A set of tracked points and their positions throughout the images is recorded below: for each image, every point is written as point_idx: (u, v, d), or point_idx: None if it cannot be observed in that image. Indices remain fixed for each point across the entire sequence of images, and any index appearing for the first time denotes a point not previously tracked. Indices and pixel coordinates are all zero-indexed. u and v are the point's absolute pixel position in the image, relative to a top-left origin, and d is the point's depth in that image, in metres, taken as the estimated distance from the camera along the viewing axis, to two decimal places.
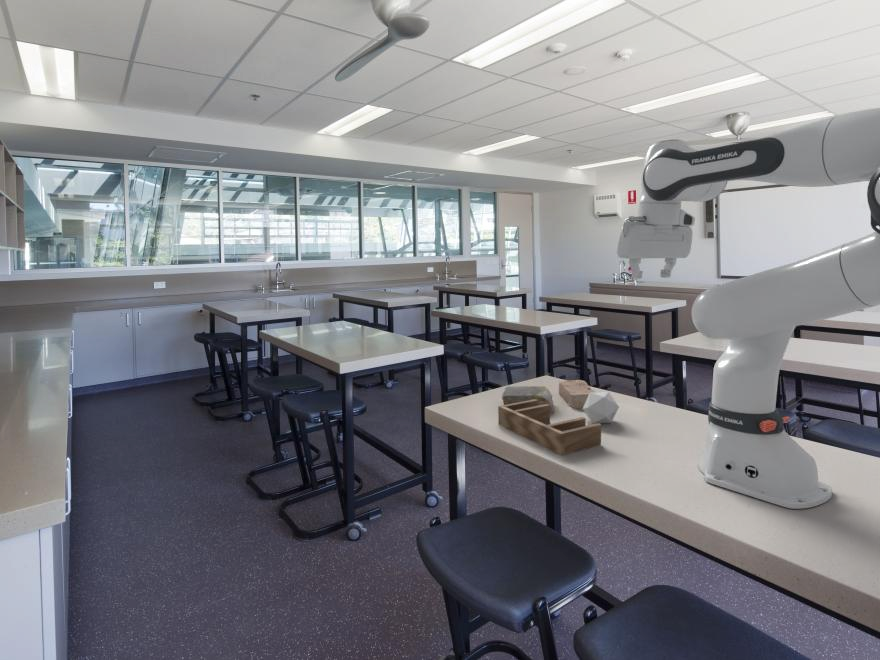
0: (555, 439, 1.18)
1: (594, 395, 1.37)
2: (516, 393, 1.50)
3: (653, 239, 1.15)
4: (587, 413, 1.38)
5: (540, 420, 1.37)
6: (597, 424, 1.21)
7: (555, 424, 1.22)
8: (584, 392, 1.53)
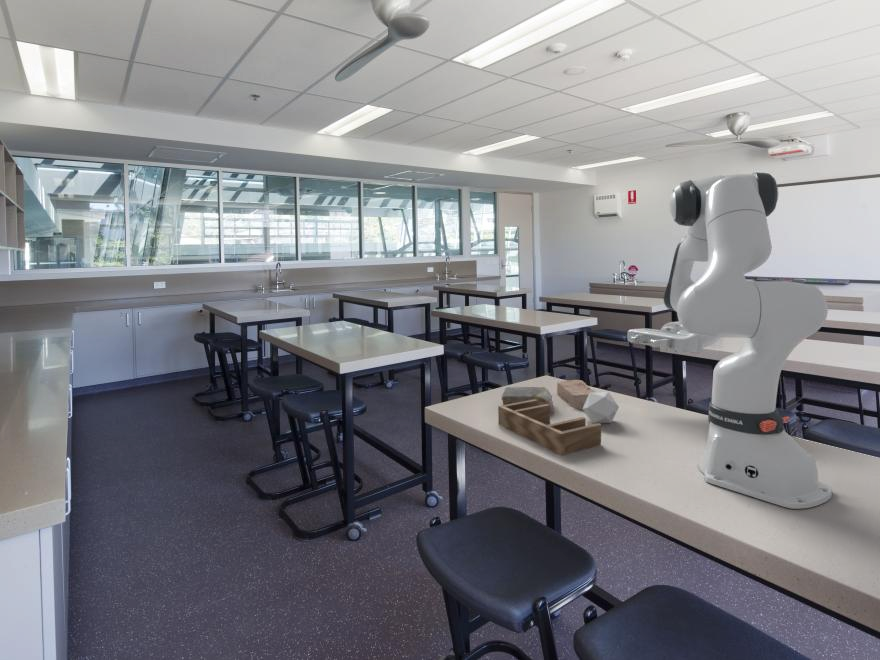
0: (555, 439, 1.18)
1: (594, 395, 1.37)
2: (516, 394, 1.49)
3: (657, 332, 1.49)
4: (587, 413, 1.38)
5: (540, 420, 1.37)
6: (597, 424, 1.21)
7: (555, 424, 1.22)
8: (585, 392, 1.53)
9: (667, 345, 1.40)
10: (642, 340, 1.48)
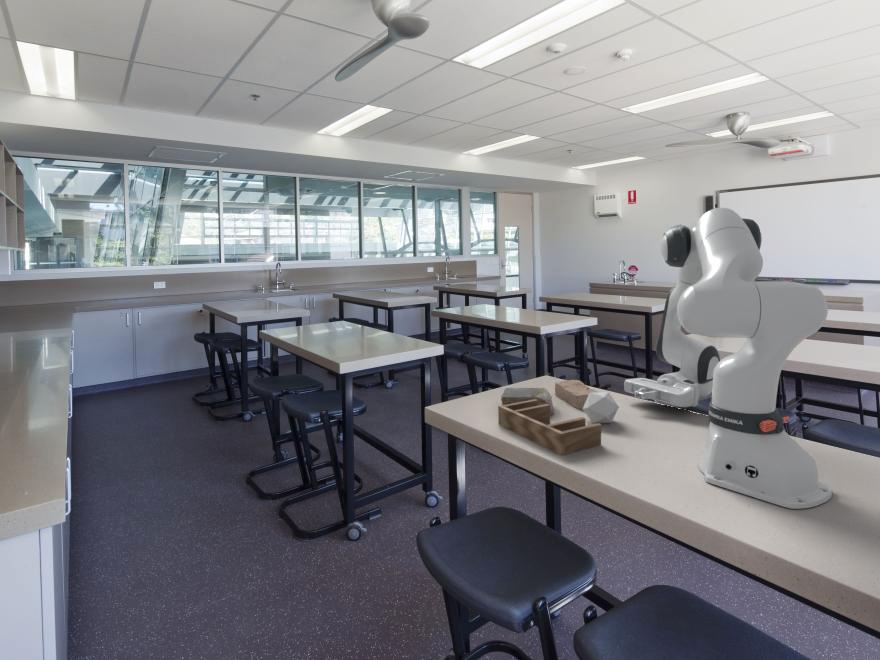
0: (555, 439, 1.18)
1: (594, 395, 1.37)
2: (515, 395, 1.48)
3: None
4: (587, 413, 1.38)
5: (540, 420, 1.37)
6: (597, 424, 1.21)
7: (555, 424, 1.22)
8: (586, 392, 1.53)
9: (655, 397, 1.44)
10: None
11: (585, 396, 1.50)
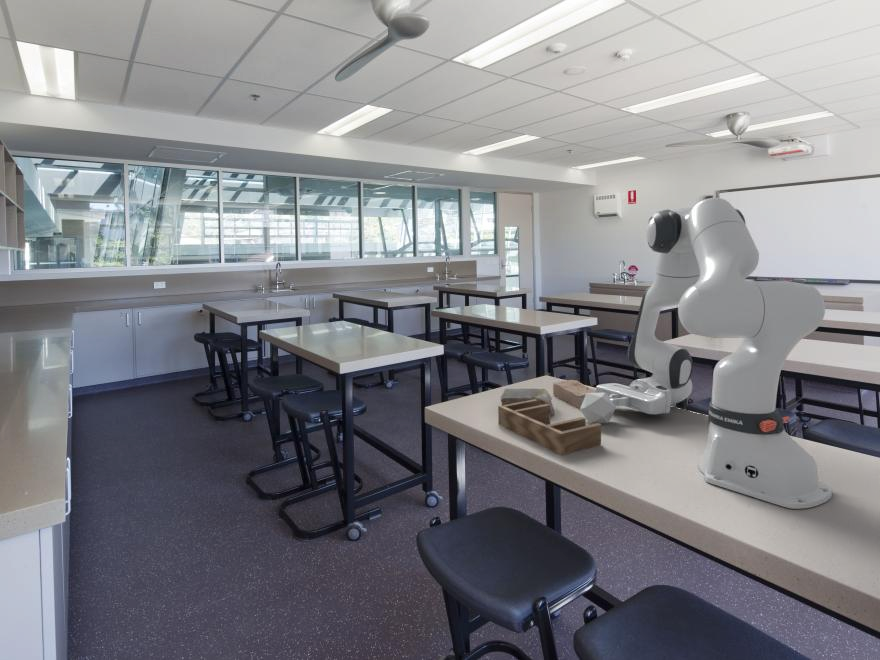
0: (555, 439, 1.18)
1: (591, 396, 1.37)
2: (515, 395, 1.47)
3: None
4: (584, 413, 1.38)
5: (540, 420, 1.37)
6: (597, 424, 1.21)
7: (555, 424, 1.22)
8: (587, 392, 1.53)
9: (626, 404, 1.39)
10: None
11: None
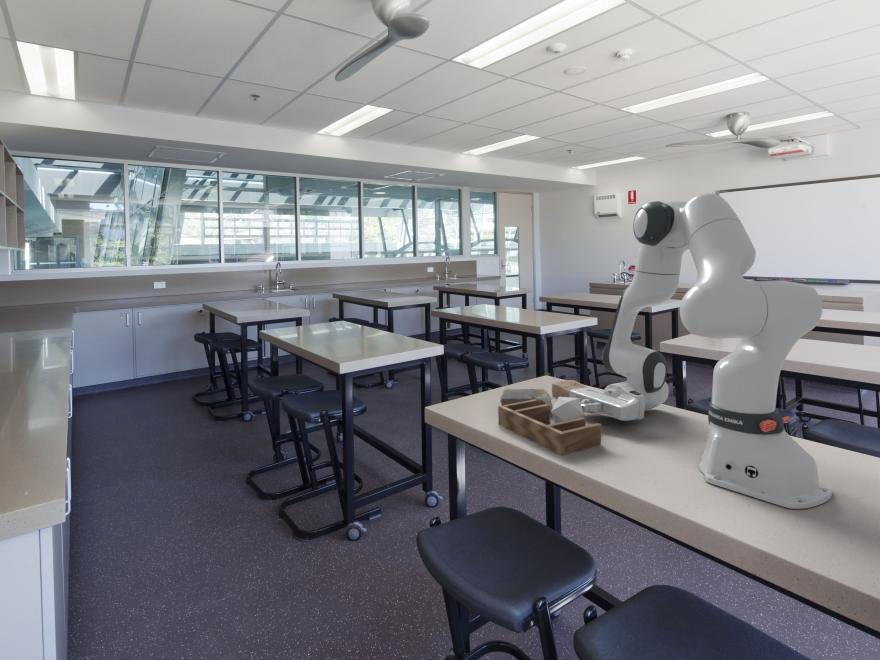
0: (555, 439, 1.18)
1: (560, 400, 1.33)
2: (515, 396, 1.47)
3: None
4: None
5: (540, 420, 1.37)
6: (597, 424, 1.21)
7: (555, 424, 1.22)
8: None
9: (598, 409, 1.34)
10: None
11: None
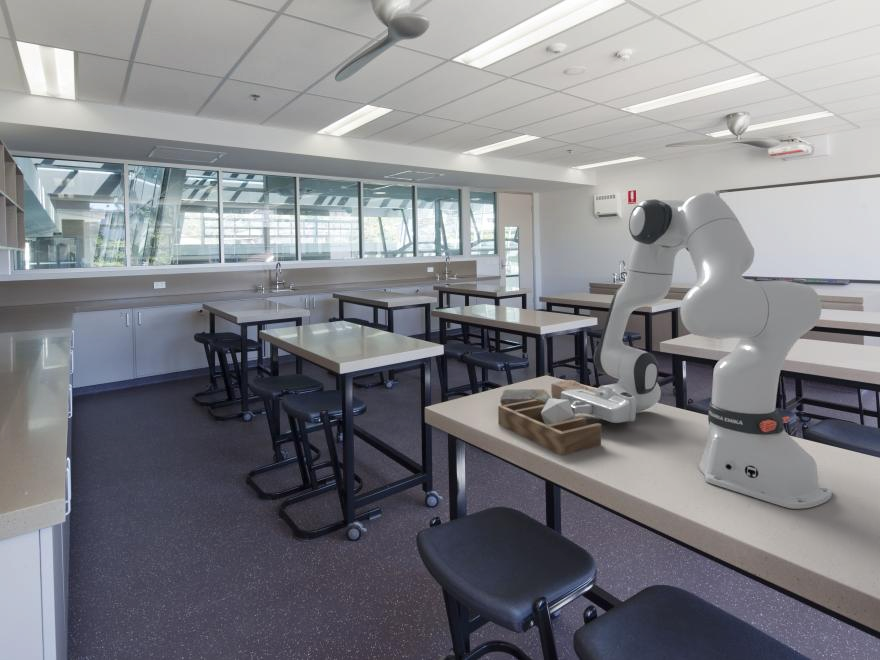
0: (555, 439, 1.18)
1: (550, 402, 1.32)
2: (515, 396, 1.46)
3: (590, 396, 1.39)
4: None
5: (540, 420, 1.37)
6: (597, 424, 1.21)
7: (555, 424, 1.22)
8: None
9: (589, 411, 1.33)
10: None
11: None
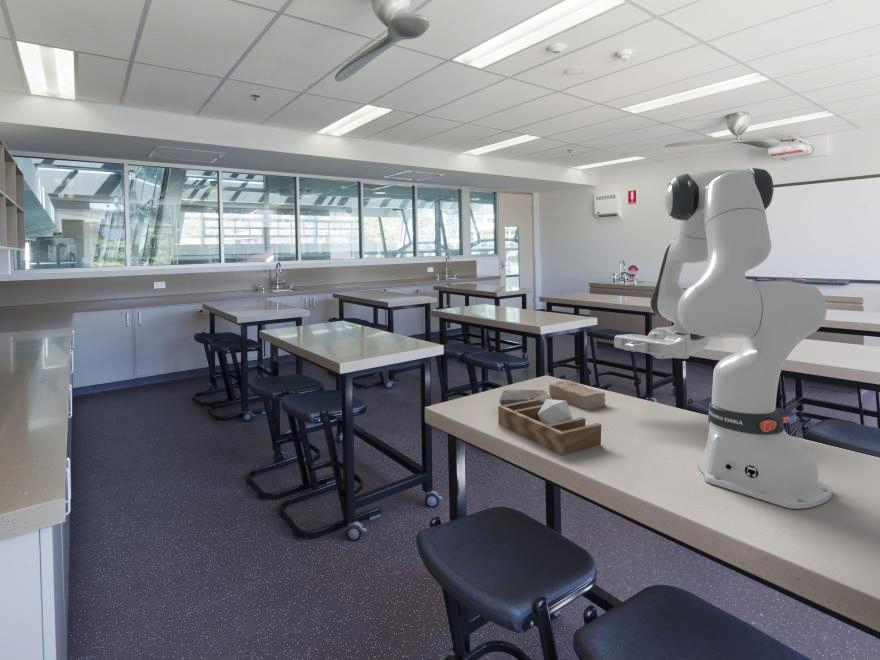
0: (555, 439, 1.18)
1: (547, 402, 1.32)
2: (514, 397, 1.46)
3: (643, 338, 1.46)
4: None
5: None
6: (597, 424, 1.21)
7: (555, 424, 1.22)
8: (590, 392, 1.53)
9: (645, 349, 1.40)
10: None
11: (592, 396, 1.50)
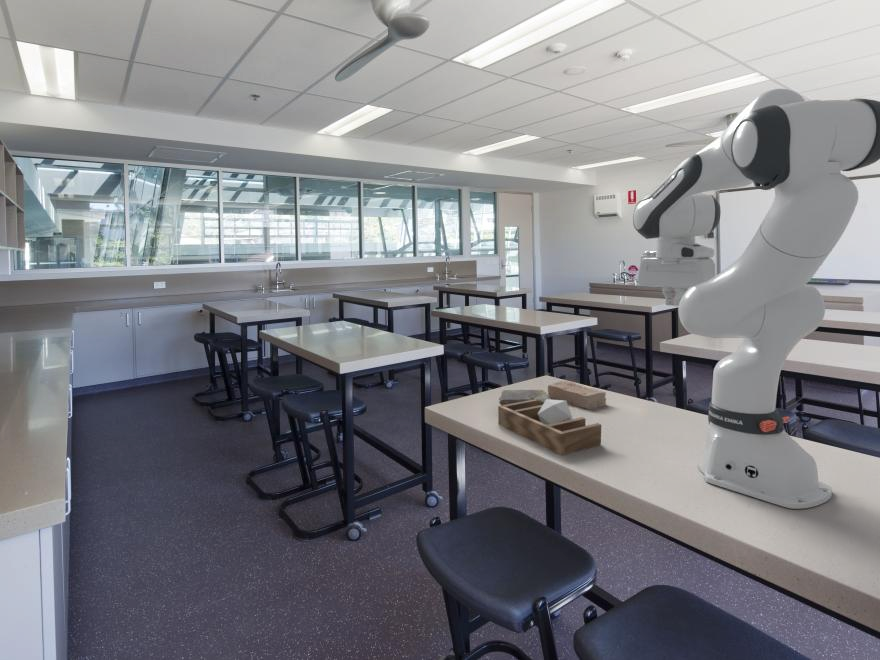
0: (555, 439, 1.18)
1: (547, 402, 1.32)
2: (514, 397, 1.46)
3: (661, 270, 1.32)
4: None
5: None
6: (597, 424, 1.21)
7: (555, 424, 1.22)
8: (591, 391, 1.53)
9: (683, 290, 1.29)
10: None
11: (594, 396, 1.50)
